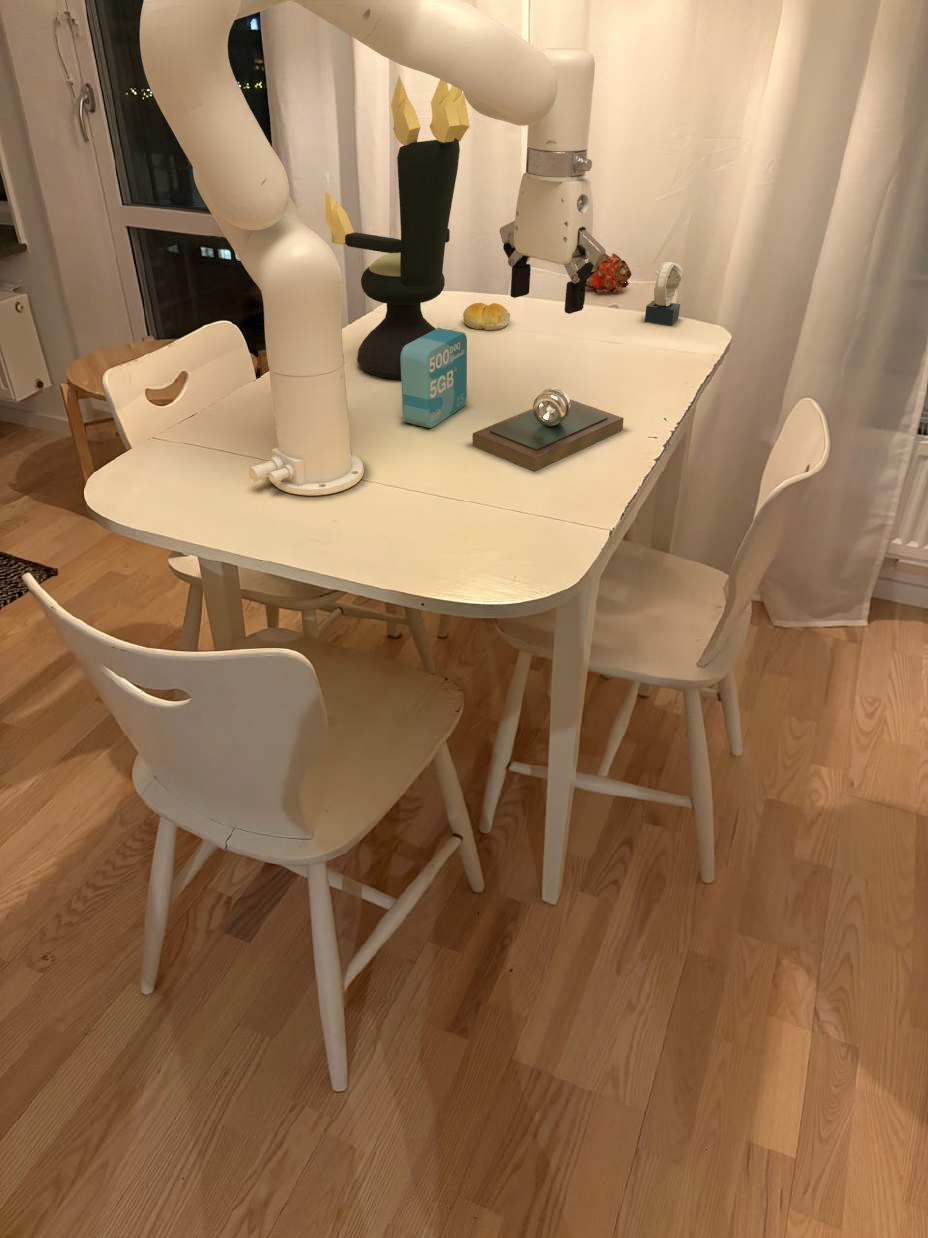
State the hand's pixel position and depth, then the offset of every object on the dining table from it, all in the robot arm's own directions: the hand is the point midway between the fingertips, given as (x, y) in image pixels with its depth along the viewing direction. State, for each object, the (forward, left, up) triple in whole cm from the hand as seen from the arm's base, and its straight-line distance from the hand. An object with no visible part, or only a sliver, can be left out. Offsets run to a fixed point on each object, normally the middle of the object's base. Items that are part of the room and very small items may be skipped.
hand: (546, 303), depth 124 cm
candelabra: (+7, +35, -20) cm, 41 cm away
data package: (-5, +17, -20) cm, 27 cm away
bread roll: (+33, +43, -20) cm, 58 cm away
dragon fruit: (+68, +41, -20) cm, 81 cm away
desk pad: (+1, -1, -20) cm, 20 cm away
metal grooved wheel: (+1, -1, -18) cm, 18 cm away
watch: (+60, +20, -20) cm, 66 cm away
